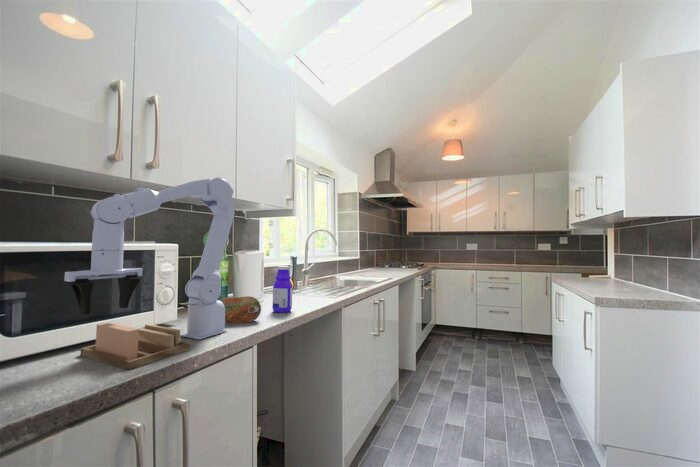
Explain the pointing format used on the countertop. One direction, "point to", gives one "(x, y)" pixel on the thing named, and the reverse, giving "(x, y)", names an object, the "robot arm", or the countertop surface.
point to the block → (117, 340)
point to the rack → (143, 358)
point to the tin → (241, 309)
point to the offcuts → (159, 335)
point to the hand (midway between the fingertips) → (105, 310)
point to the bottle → (282, 291)
